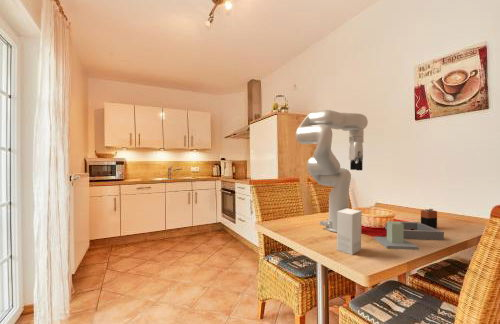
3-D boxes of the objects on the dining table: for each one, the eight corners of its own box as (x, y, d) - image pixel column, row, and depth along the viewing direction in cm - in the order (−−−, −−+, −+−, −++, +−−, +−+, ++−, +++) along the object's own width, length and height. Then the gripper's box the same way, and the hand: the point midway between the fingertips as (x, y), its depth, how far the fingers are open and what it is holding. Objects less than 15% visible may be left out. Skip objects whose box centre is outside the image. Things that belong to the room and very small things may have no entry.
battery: (437, 228, 125) (437, 209, 125) (428, 229, 123) (428, 210, 123) (429, 226, 129) (429, 208, 129) (420, 227, 127) (420, 208, 127)
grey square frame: (401, 238, 107) (401, 230, 107) (382, 227, 125) (382, 221, 125) (443, 239, 105) (443, 232, 105) (418, 228, 123) (418, 222, 123)
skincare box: (346, 245, 97) (346, 208, 97) (362, 250, 92) (362, 210, 92) (336, 250, 91) (336, 210, 91) (352, 255, 86) (353, 213, 86)
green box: (391, 242, 98) (392, 223, 98) (386, 239, 102) (386, 221, 102) (403, 243, 97) (403, 224, 97) (397, 239, 102) (397, 221, 102)
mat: (387, 248, 94) (387, 245, 94) (374, 238, 106) (374, 236, 106) (418, 249, 93) (418, 246, 93) (401, 239, 105) (401, 237, 105)
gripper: (344, 141, 144) (344, 169, 144) (354, 138, 127) (354, 170, 127) (357, 141, 143) (357, 169, 143) (369, 138, 126) (369, 170, 126)
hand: (356, 170), depth 135 cm, fingers open, 9 cm apart
